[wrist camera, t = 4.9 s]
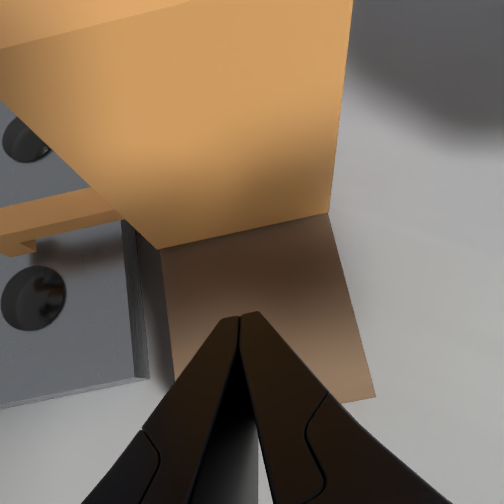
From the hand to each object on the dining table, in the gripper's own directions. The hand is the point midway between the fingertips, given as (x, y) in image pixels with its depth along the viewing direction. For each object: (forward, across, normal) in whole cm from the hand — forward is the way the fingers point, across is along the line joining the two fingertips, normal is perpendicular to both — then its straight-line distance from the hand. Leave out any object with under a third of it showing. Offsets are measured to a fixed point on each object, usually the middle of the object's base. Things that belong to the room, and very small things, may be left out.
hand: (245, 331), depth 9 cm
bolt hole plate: (+12, +8, -2) cm, 14 cm away
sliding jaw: (+7, +3, -1) cm, 8 cm away
